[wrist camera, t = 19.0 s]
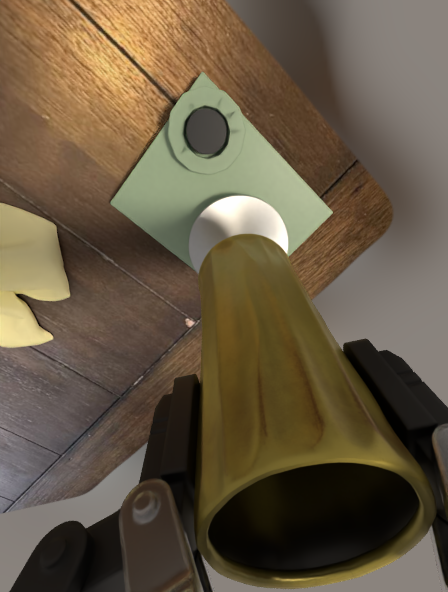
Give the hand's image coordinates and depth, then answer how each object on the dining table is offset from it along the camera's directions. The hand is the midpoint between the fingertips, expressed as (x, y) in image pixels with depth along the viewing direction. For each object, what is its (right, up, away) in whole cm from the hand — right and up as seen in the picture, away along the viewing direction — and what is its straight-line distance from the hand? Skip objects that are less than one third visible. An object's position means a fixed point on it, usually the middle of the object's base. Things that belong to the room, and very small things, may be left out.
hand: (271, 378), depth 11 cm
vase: (0, +4, +9) cm, 10 cm away
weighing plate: (0, +8, +16) cm, 18 cm away
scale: (-2, +12, +18) cm, 22 cm away
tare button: (-3, +16, +12) cm, 20 cm away
